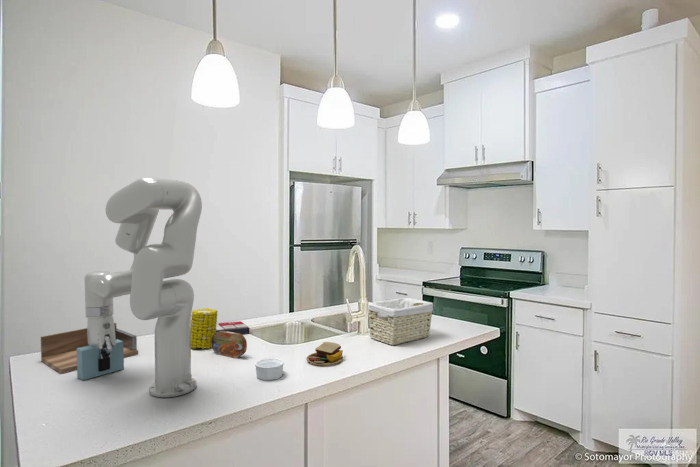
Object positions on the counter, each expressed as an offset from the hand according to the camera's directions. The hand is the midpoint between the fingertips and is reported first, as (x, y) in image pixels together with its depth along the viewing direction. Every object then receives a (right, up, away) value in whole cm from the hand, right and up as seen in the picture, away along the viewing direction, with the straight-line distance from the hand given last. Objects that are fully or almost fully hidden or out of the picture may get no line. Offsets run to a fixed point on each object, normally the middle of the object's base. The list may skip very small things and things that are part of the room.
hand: (101, 367), depth 132 cm
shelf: (-12, -1, +14) cm, 19 cm away
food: (+22, -1, +28) cm, 36 cm away
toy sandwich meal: (+70, -2, +14) cm, 71 cm away
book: (0, -2, 0) cm, 2 cm away
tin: (+35, -1, +18) cm, 40 cm away
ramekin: (+53, -2, -1) cm, 53 cm away
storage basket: (+99, -1, +41) cm, 108 cm away
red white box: (+27, -1, +46) cm, 53 cm away
